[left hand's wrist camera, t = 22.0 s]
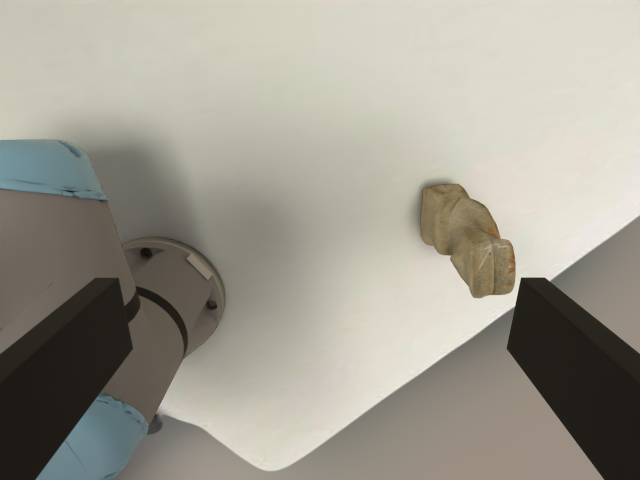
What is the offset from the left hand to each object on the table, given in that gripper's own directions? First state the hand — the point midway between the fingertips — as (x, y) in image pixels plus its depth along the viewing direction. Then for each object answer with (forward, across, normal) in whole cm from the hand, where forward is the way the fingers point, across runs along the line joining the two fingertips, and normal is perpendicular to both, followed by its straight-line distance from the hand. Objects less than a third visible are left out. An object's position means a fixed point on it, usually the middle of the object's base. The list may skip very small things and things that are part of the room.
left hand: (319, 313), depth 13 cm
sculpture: (+31, -13, +5) cm, 34 cm away
